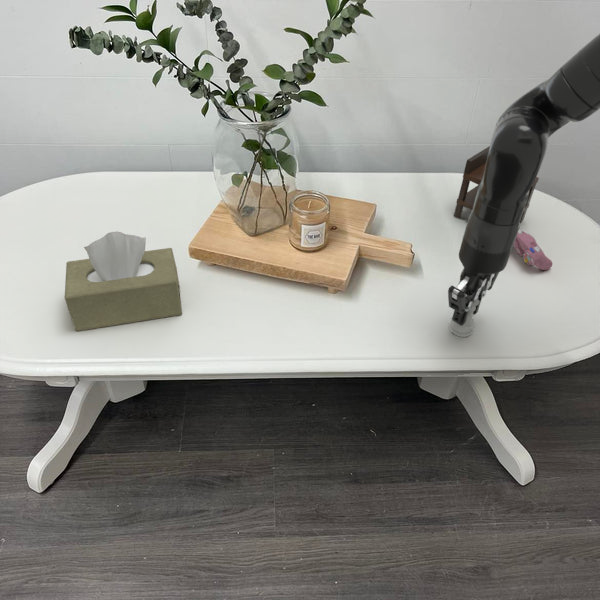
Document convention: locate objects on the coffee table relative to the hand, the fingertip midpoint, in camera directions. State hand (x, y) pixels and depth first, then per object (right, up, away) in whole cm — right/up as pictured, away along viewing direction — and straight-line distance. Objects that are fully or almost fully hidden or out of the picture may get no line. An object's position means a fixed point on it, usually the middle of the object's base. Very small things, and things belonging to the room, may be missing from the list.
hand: (464, 316), depth 100 cm
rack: (+13, +21, +28) cm, 37 cm away
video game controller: (+18, +11, +18) cm, 27 cm away
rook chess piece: (0, -2, +2) cm, 3 cm away
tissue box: (-60, +2, +5) cm, 60 cm away
